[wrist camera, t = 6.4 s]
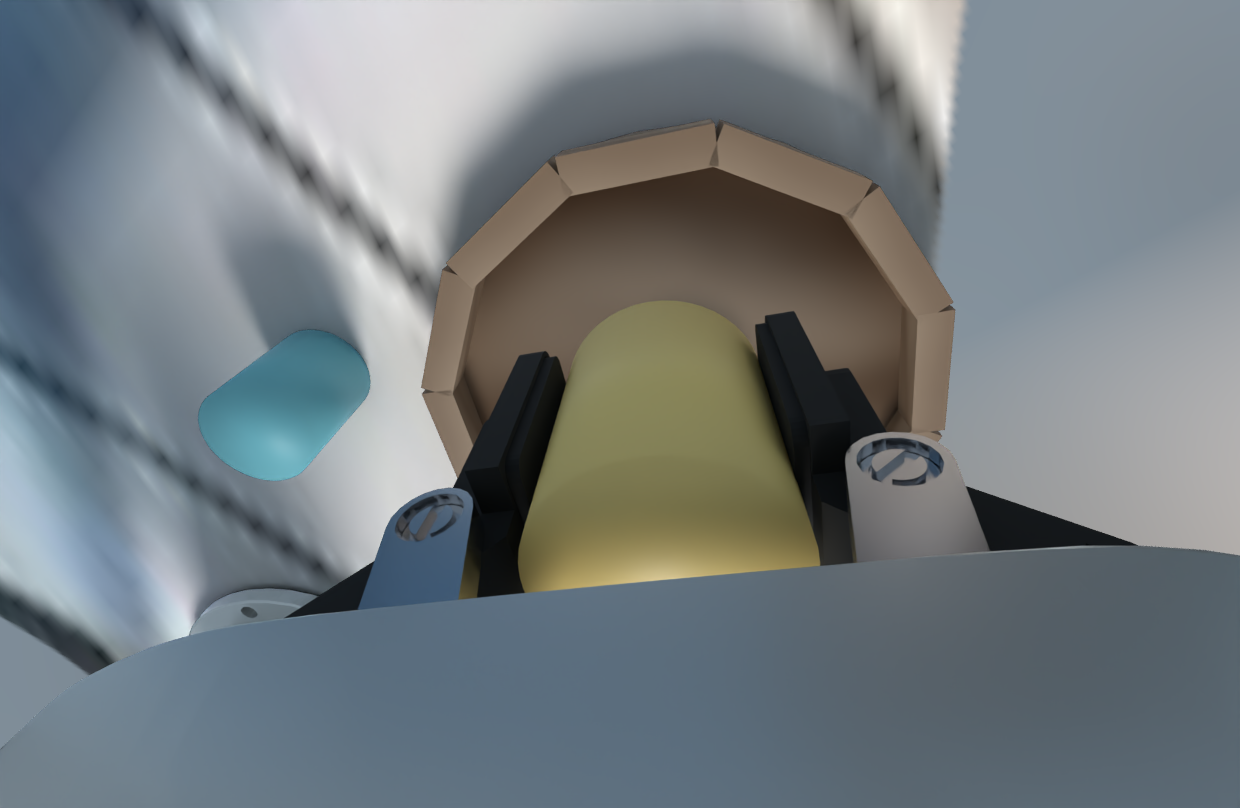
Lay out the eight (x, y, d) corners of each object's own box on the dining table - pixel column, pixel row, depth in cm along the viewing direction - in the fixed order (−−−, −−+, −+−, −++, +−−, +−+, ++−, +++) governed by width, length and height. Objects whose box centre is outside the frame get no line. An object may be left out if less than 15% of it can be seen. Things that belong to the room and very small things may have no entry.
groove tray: (911, 527, 28) (932, 566, 26) (522, 569, 31) (512, 607, 28) (938, 65, 18) (976, 66, 16) (373, 188, 21) (340, 203, 19)
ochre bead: (753, 284, 11) (815, 434, 7) (769, 457, 13) (824, 659, 8) (546, 319, 11) (477, 476, 7) (592, 479, 13) (559, 678, 9)
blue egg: (384, 404, 26) (330, 473, 22) (303, 417, 27) (235, 486, 22) (346, 322, 24) (278, 379, 20) (259, 338, 25) (175, 396, 20)
